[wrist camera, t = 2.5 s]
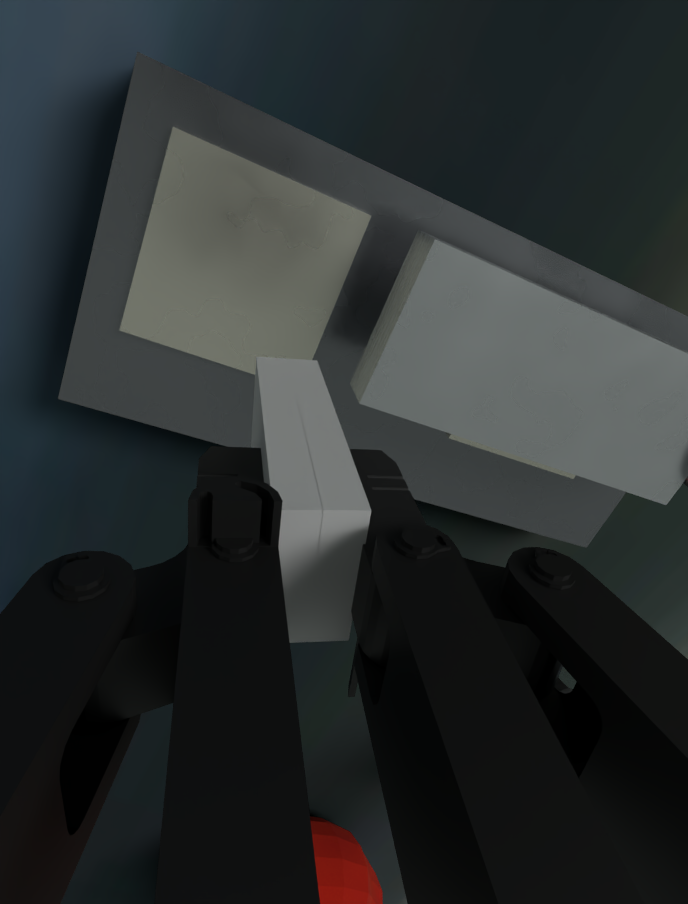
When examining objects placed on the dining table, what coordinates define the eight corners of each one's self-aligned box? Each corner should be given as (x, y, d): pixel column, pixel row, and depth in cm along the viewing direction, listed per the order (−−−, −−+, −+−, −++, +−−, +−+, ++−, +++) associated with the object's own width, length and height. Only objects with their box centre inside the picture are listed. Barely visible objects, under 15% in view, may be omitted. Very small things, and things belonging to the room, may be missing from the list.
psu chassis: (149, 60, 20) (125, 43, 16) (697, 323, 29) (782, 360, 24) (75, 370, 25) (41, 424, 21) (565, 516, 34) (617, 577, 29)
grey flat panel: (416, 228, 19) (440, 241, 17) (776, 392, 25) (828, 418, 23) (348, 380, 21) (361, 409, 19) (694, 498, 27) (734, 531, 25)
